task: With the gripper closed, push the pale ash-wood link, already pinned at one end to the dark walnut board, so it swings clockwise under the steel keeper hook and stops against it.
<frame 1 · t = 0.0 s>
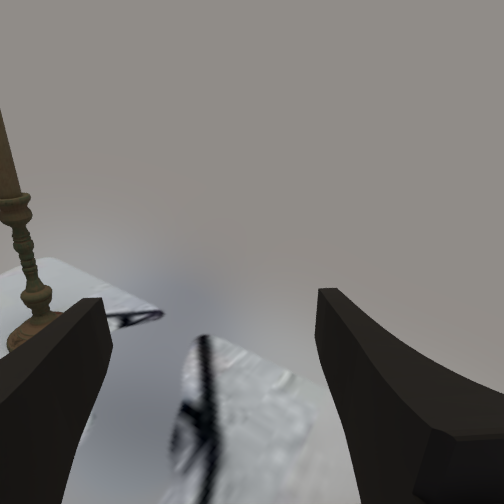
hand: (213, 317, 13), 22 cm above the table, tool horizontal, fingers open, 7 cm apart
candlestick holder: (48, 336, 49), on the table
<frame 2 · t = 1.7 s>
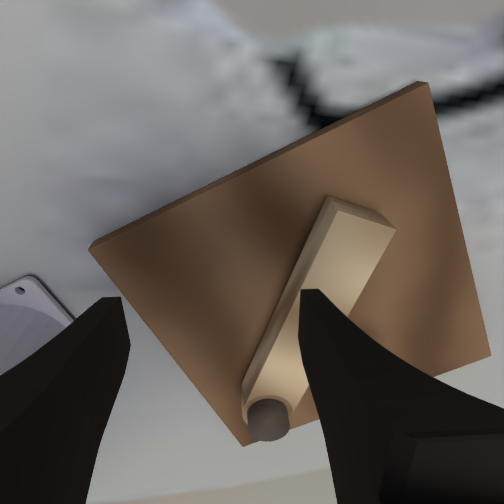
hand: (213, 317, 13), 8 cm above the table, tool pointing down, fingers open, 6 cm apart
link: (303, 334, 20), point 3 cm above the table, hinge at 50.0°
board: (309, 299, 23), on the table
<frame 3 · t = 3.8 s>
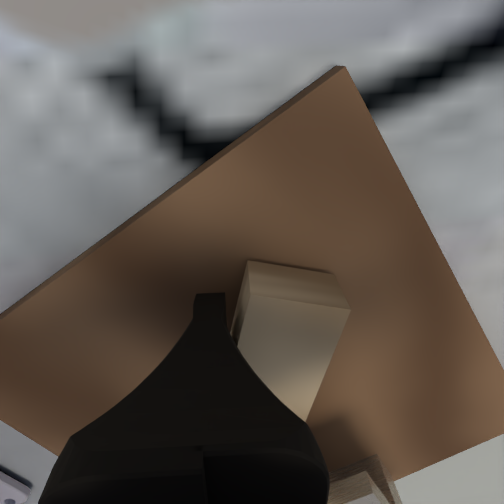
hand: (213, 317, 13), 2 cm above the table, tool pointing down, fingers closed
keeper: (222, 470, 19), resting on board
link: (248, 448, 14), point 3 cm above the table, hinge at 47.5°, touching gripper
board: (257, 382, 17), on the table
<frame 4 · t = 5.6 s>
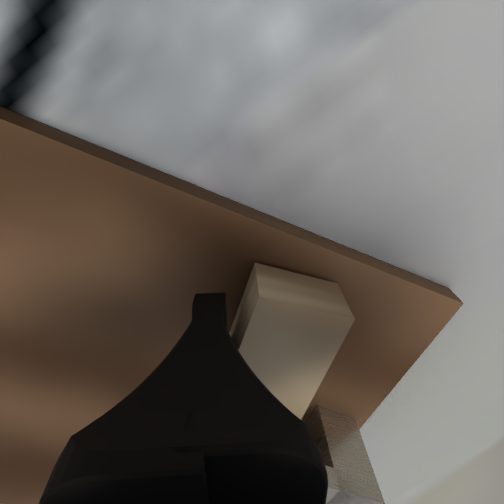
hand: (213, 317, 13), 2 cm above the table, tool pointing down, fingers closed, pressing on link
keeper: (203, 471, 19), resting on board
link: (236, 450, 14), point 3 cm above the table, hinge at 11.6°, touching gripper
board: (158, 384, 16), on the table
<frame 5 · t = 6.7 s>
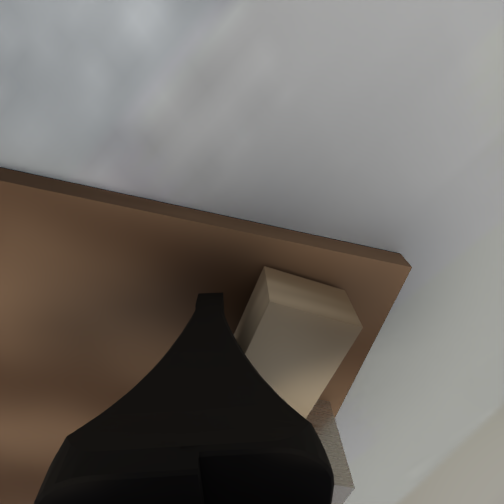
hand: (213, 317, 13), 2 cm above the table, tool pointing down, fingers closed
keeper: (196, 470, 19), resting on board
link: (234, 452, 14), point 3 cm above the table, hinge at -1.1°, touching gripper
board: (127, 391, 16), on the table
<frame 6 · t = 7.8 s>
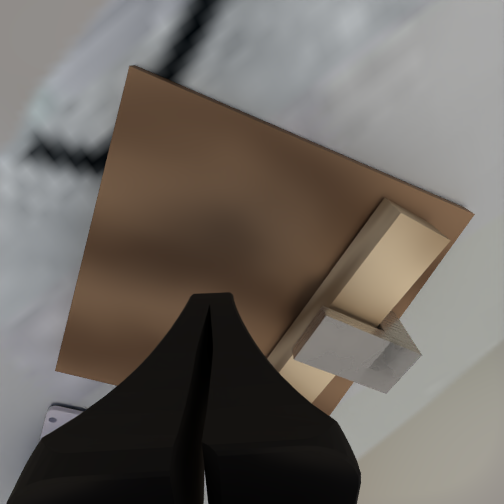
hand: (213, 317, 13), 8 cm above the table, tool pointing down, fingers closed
keeper: (274, 365, 25), resting on board
link: (333, 332, 20), point 3 cm above the table, hinge at -1.2°
board: (247, 289, 22), on the table
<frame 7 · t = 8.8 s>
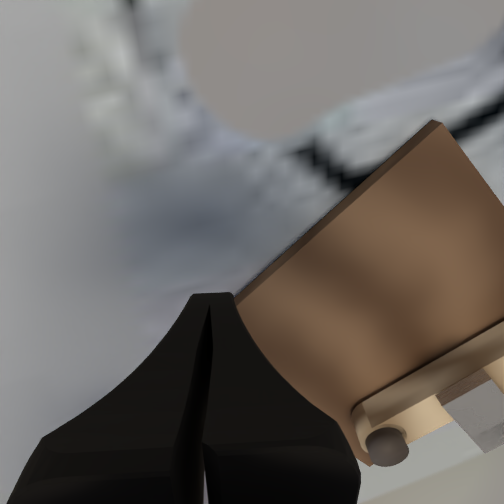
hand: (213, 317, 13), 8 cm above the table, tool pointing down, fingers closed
keeper: (366, 398, 27), resting on board
link: (461, 389, 23), point 3 cm above the table, hinge at -1.2°
board: (390, 327, 24), on the table
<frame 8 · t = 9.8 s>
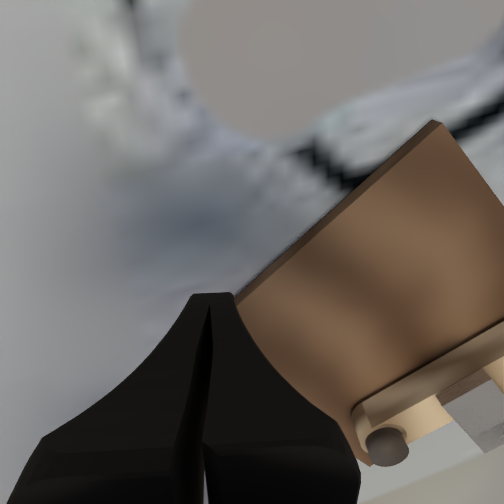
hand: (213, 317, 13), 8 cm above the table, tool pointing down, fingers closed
keeper: (366, 398, 27), resting on board
link: (461, 389, 23), point 3 cm above the table, hinge at -1.2°
board: (390, 327, 24), on the table
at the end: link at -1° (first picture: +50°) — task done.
